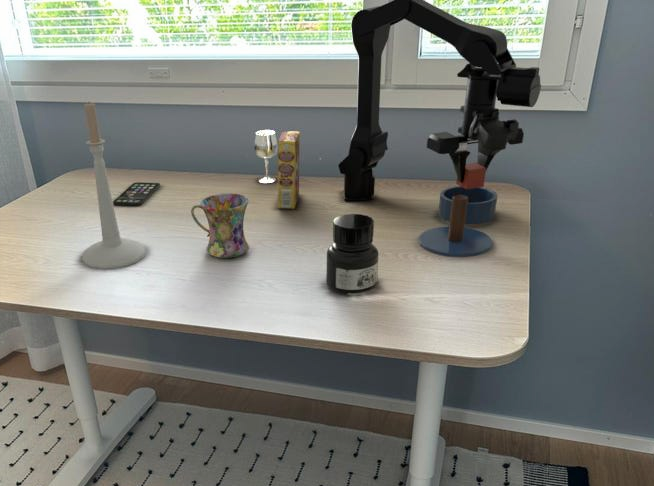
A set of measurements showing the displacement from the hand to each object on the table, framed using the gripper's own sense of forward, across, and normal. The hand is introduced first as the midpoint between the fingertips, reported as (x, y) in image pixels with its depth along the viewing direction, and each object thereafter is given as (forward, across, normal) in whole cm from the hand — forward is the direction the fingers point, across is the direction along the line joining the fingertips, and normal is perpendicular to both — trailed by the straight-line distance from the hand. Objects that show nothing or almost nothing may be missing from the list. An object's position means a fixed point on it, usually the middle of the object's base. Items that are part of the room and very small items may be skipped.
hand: (470, 180), depth 142 cm
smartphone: (+8, -64, +45) cm, 79 cm away
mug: (+8, -53, +2) cm, 54 cm away
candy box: (+8, -32, +24) cm, 41 cm away
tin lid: (+7, -10, -12) cm, 17 cm away
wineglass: (+8, -31, +42) cm, 53 cm away
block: (+1, 0, 0) cm, 1 cm away
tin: (+8, 0, 0) cm, 8 cm away
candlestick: (+8, -74, +9) cm, 75 cm away
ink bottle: (+8, -35, -21) cm, 42 cm away
